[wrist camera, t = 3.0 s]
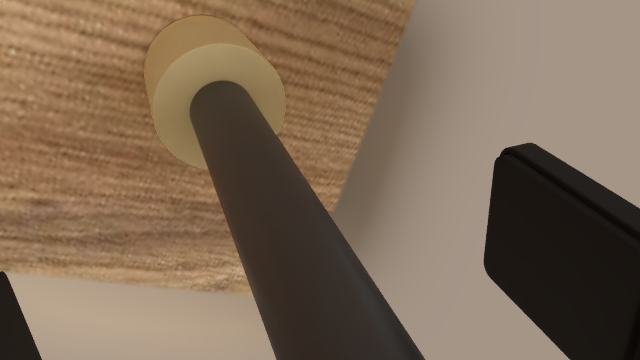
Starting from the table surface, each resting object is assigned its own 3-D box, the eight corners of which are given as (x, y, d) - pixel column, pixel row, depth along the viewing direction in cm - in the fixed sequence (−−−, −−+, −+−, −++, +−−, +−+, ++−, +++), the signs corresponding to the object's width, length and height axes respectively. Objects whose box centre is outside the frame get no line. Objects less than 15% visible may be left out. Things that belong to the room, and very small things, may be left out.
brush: (251, 7, 21) (526, 258, 7) (263, 115, 23) (494, 463, 9) (132, 23, 20) (198, 350, 6) (156, 134, 22) (244, 557, 8)
